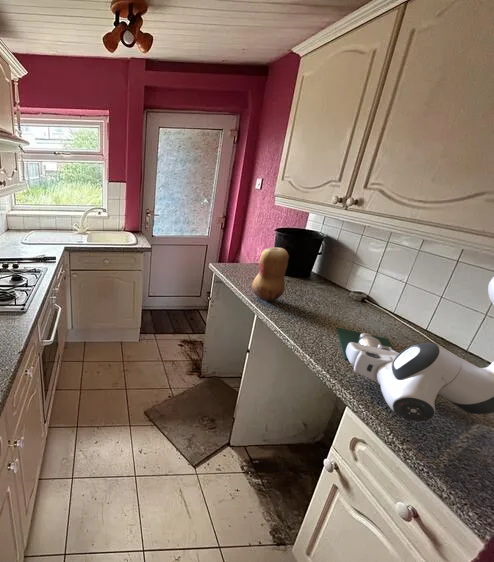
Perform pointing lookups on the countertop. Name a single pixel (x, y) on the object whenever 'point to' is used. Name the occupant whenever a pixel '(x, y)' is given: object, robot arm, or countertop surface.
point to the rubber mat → (355, 339)
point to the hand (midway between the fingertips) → (383, 347)
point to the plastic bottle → (369, 340)
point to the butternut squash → (271, 274)
